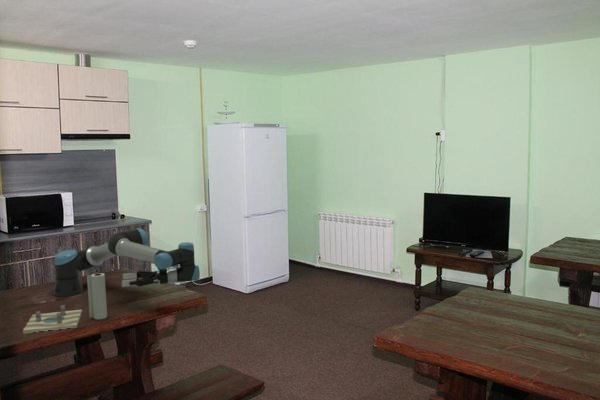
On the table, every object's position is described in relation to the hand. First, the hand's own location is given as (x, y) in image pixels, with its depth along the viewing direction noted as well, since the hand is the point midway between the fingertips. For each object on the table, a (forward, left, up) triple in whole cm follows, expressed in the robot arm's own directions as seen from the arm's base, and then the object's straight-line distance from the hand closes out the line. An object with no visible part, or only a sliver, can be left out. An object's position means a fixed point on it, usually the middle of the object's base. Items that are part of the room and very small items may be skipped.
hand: (122, 280), depth 245 cm
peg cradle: (-1, -31, -17) cm, 36 cm away
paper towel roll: (-1, -11, -18) cm, 21 cm away
